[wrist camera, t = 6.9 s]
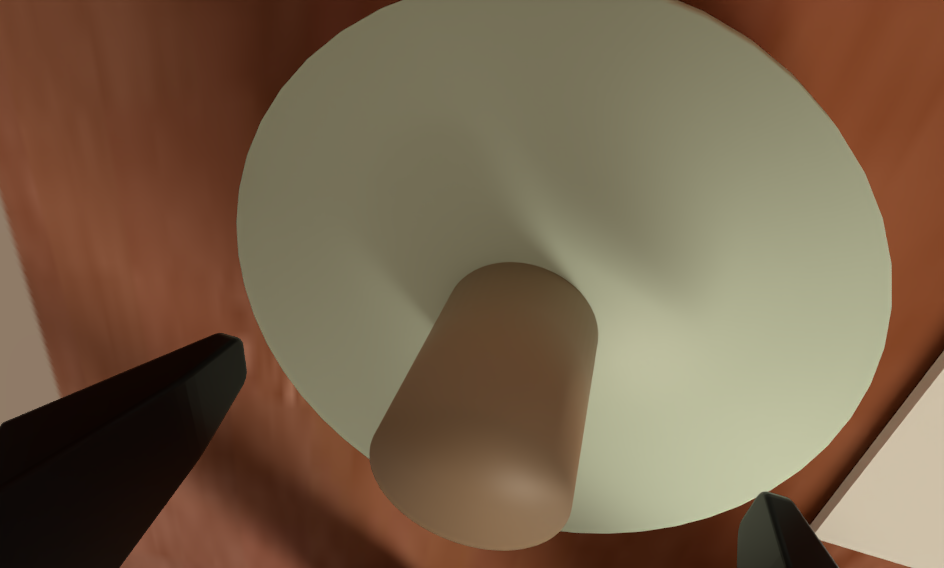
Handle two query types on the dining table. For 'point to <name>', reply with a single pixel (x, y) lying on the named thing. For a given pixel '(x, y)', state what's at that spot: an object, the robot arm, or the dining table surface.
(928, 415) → the mat
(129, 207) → the dining table surface
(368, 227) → the lid
